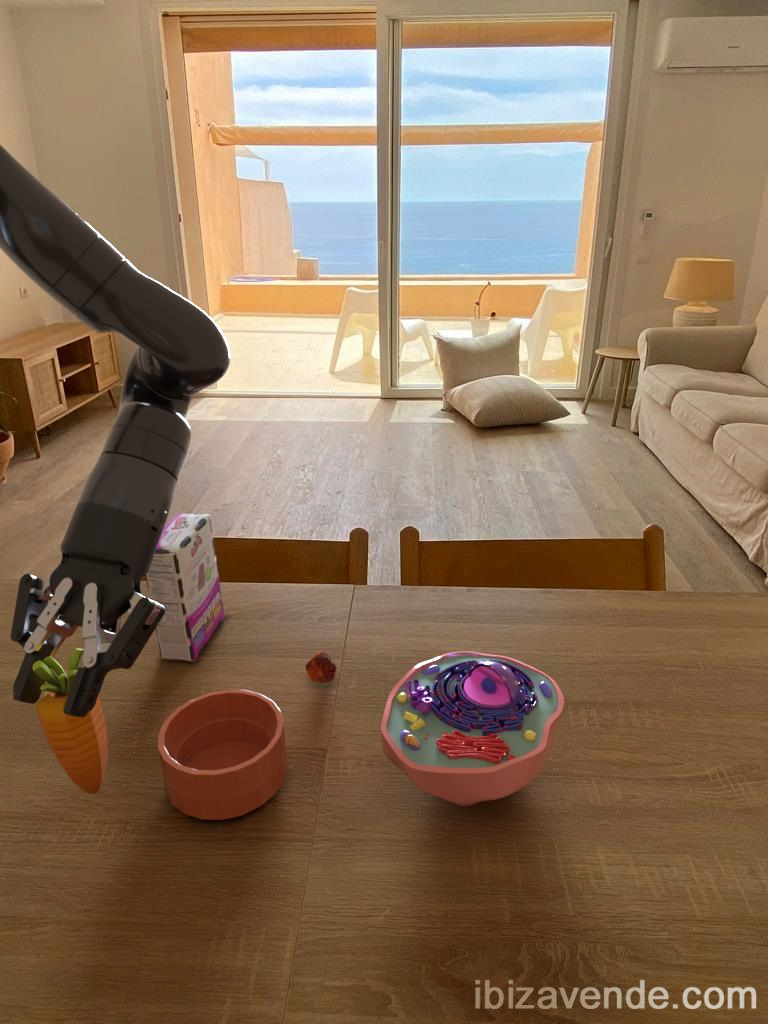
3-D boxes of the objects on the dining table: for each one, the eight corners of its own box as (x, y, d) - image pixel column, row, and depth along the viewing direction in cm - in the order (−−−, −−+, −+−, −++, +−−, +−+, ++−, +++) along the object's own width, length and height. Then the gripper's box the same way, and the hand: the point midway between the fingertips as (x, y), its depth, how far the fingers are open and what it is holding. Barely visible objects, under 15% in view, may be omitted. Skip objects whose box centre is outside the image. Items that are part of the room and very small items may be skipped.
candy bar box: (192, 614, 101) (177, 511, 94) (225, 617, 100) (212, 513, 93) (157, 660, 90) (138, 548, 84) (194, 664, 90) (177, 551, 83)
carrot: (123, 765, 65) (86, 631, 60) (124, 803, 61) (84, 662, 55) (67, 782, 64) (23, 645, 58) (64, 821, 60) (16, 679, 54)
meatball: (303, 686, 85) (301, 659, 84) (318, 669, 88) (316, 643, 87) (328, 693, 84) (327, 666, 82) (343, 676, 87) (341, 650, 85)
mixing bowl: (149, 824, 67) (139, 773, 64) (187, 735, 78) (179, 688, 75) (275, 827, 66) (270, 776, 63) (295, 737, 77) (291, 690, 75)
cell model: (343, 769, 73) (339, 681, 68) (475, 689, 84) (479, 609, 80) (459, 878, 61) (464, 781, 56) (593, 767, 73) (607, 679, 68)
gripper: (29, 489, 61) (-55, 684, 55) (167, 510, 56) (92, 724, 51) (83, 519, 67) (13, 696, 62) (210, 540, 63) (147, 732, 58)
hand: (49, 707), depth 57 cm, fingers closed on carrot, 4 cm apart
